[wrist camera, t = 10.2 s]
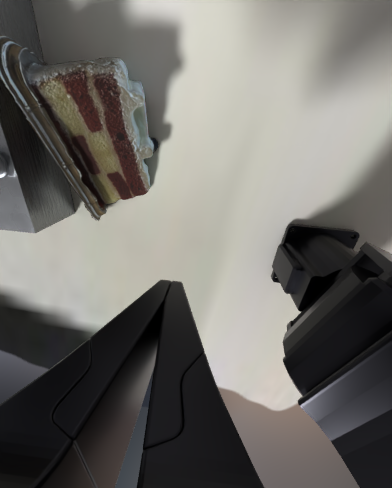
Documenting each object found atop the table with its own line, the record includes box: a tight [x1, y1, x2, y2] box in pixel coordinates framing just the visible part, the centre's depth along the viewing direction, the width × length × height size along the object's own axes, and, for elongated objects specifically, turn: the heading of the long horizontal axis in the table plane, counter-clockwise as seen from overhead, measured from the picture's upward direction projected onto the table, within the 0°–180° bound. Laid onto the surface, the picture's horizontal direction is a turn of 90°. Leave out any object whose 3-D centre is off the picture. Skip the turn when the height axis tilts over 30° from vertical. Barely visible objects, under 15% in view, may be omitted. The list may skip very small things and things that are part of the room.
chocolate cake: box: [0, 35, 158, 221], centre depth 15 cm, size 10×7×12 cm
